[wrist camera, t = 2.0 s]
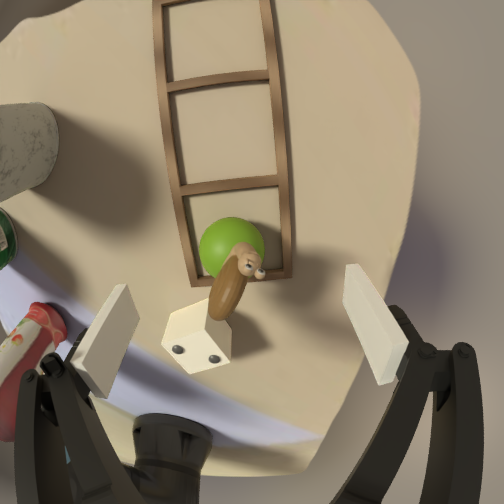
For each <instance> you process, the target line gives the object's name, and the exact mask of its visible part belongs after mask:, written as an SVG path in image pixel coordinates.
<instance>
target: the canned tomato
mask: <svg viewBox="0 0 504 504" xmlns="http://www.w3.org/2000/svg"><path fill="white" fill-rule="evenodd" d="M17 250H18V241H17V235H16V231H15V228H14V226H13V223H12V221H11V219H10V218H9V216H8V215H7V213H6V212H5V211H4V210H2V209H1V208H0V270H2V268H4V267H5V266H6V265H7V264H8V263H9V262H11V261H13V259H14V258H15V257H16V255H17Z"/></svg>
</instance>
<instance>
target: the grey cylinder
mask: <svg viewBox="0 0 504 504" xmlns="http://www.w3.org/2000/svg"><path fill="white" fill-rule="evenodd" d="M58 148H59V132H58V126H57V122H56V119H55V117H54V115H53V113H52V112H51V110H50V109H49V108H48V107H47V106H46V105H44V104H42V103H39V102H30V103H19V104H5V105H0V202H2V201H4V200H6V199H8V198H10V197H12V196H14V195H16V194H19V193H21V192H23V191H25V190H27V189H29V188H33V187H36V186H38V185H40V184H41V183H42V182H44V181H45V180H46V179H47V177H48V176H49V174H50V173H51V171H52V169H53V167H54V165H55V162H56V158H57V155H58Z"/></svg>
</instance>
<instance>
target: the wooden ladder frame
mask: <svg viewBox="0 0 504 504" xmlns="http://www.w3.org/2000/svg"><path fill="white" fill-rule="evenodd" d="M185 1H190V0H152V14H153V40H154V56H155V70H156V82H157V92H158V102H159V111H160V119H161V127H162V135H163V142H164V149H165V156H166V162H167V169H168V175H169V181H170V187H171V193H172V198H173V204H174V209H175V214H176V220H177V225H178V230H179V235H180V239H181V244H182V249H183V253H184V258H185V262H186V267H187V271H188V276H189V280H190V284H191V287H200V286H213V283H214V281H215V278H214V277H212V276H200V277H198V273H197V268H196V263H195V259H194V254H193V249H192V244H191V239H190V233H189V228H188V223H187V217H186V212H185V206H184V200H183V196H184V195H191V194H198V193H206V192H214V191H222V190H231V189H241V188H250V187H261V186H272V185H278V190H279V204H280V220H281V238H282V257H283V269H274V270H264V271H265V277H264V278H263V279H257V278H256V277H255V275H253V276H251V277H250V278H248V280H247V282H256V281H266V280H276V279H286V278H292V252H291V226H290V206H289V188H288V172H287V157H286V144H285V131H284V120H283V108H282V98H281V88H280V78H279V69H278V60H277V52H276V44H275V36H274V29H273V21H272V14H271V7H270V1H269V0H259V3H260V10H261V17H262V25H263V33H264V41H265V49H266V58H267V67H268V70H254V71H242V72H232V73H223V74H216V75H209V76H202V77H196V78H190V79H185V80H180V81H175V82H170V83H168V81H167V70H166V57H165V43H164V25H163V6H167V5H171V4H175V3H180V2H185ZM255 80H269V85H270V95H271V105H272V116H273V127H274V138H275V150H276V162H277V175H266V176H255V177H245V178H235V179H226V180H218V181H210V182H202V183H195V184H188V185H181V182H180V176H179V170H178V163H177V156H176V149H175V142H174V134H173V127H172V118H171V110H170V101H169V93H170V92H175V91H180V90H185V89H191V88H197V87H203V86H209V85H216V84H224V83H233V82H243V81H255Z"/></svg>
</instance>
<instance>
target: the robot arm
mask: <svg viewBox="0 0 504 504" xmlns="http://www.w3.org/2000/svg"><path fill="white" fill-rule="evenodd" d="M342 303H343V305H344V307H345V309H346V312H347V314H348V316H349V318H350V320H351V322H352V325H353V327H354V329H355V331H356V334H357V336H358V338H359V340H360V343H361V345H362V347H363V350H364V352H365V354H366V357H367V359H368V362H369V364H370V366H371V369H372V371H373V373H374V376H375V379H376V381H377V383H378V385H383V384H387V383H390V382H393V380H394V377H395V375H397V377H398V380H399V382H398V384H397V386H396V388H395V390H394V392H393V395H392V398H391V400H390V402H389V404H388V406H387V409H386V411H385V413H384V415H383V417H382V419H381V421H380V423H379V425H378V427H377V429H376V431H375V433H374V435H373V437H372V439H371V440H370V442H369V444H368V446H367V447H366V449H365V451H364V453H363V454H362V456H361V458H360V459H359V461H358V463H357V464H356V466H355V467H354V469H353V471H352V472H351V474H350V475H349V477H348V479H347V480H346V482H345V483H344V484H343V486H342V487H341V489H340V490H339V492H338V493H337V494H336V496H335V497H334V499H333V500H332V501H331V502H330V503H329V504H381V502H382V499H383V497H384V495H385V494H386V492H387V490H388V488H389V486H390V485H391V483H392V481H393V479H394V477H395V475H396V473H397V472H398V469H399V467H400V465H401V463H402V461H403V459H404V457H405V454H406V452H407V450H408V448H409V446H410V443H411V441H412V439H413V436H414V434H415V431H416V429H417V426H418V423H419V420H420V418H421V415H422V412H423V409H424V406H425V403H426V400H427V397H428V394H429V392H432V391H433V413H432V427H431V438H430V448H429V455H428V463H427V468H426V475H425V480H424V484H423V489H422V494H421V498H420V502H419V504H479V498H480V491H481V482H482V472H483V455H484V453H483V452H484V424H483V406H482V394H481V385H480V377H479V370H478V364H477V358H476V353H475V350H474V348H473V347H472V346H471V345H469V344H467V343H464V342H459V343H457V344H455V345H454V347H453V349H452V350H437V349H436V348H435V347H434V346H433V345H432V344H430V343H425V342H424V341H423V340H422V338H421V337H420V335H419V334H418V332H417V331H416V329H415V327H414V326H413V324H411V321H410V320H409V319H408V318H407V315H406V314H405V313H404V311H403V310H402V309H401V308H399V307H398V306H397V305H391V306H386V304H385V302H384V301H383V299H382V298H381V296H380V295H379V293H378V292H377V290H376V289H375V287H374V286H373V284H372V283H371V281H370V280H369V278H368V277H367V275H366V274H365V272H364V271H363V270H362V268H361V267H360V265H359V264H358V263H356V264H347V265H346V272H345V282H344V292H343V302H342ZM139 320H140V317H139V315H138V312H137V310H136V307H135V305H134V302H133V299H132V297H131V294H130V291H129V288H128V286H127V284H117V285H116V286H115V288H114V289H113V291H112V292H111V294H110V295H109V297H108V298H107V300H106V301H105V303H104V304H103V306H102V308H101V309H100V311H99V312H98V314H97V316H96V317H95V319H94V321H93V322H92V324H91V325H90V327H89V328H86V329H85V330H84V331H83V332H81V333H80V334H79V336H78V338H77V339H76V342H75V343H74V345H73V347H72V348H71V350H70V351H69V353H68V355H67V357H66V359H65V360H64V362H63V360H62V359H61V357H60V356H59V354H57V353H55V352H52V353H49V354H47V355H45V356H44V357H43V358H42V359H41V361H40V368H41V369H42V370H43V372H44V373H45V374H44V375H40V374H39V373H38V372H37V371H36V370H35V369H29V370H27V371H26V372H24V373H23V375H22V377H21V380H20V386H19V393H18V401H17V410H16V421H15V439H14V465H15V466H14V467H15V485H16V494H17V503H18V504H199V491H200V490H199V489H200V474H201V469H202V467H203V465H204V463H205V461H206V459H207V457H208V455H209V453H210V451H211V448H212V434H211V433H210V432H209V431H208V430H207V429H206V428H205V427H203V426H201V425H199V424H197V423H195V422H193V421H190V420H187V419H184V418H180V417H176V416H171V415H165V414H145V415H141V416H139V417H137V418H136V419H135V421H134V425H133V431H132V432H133V440H134V447H135V454H136V460H135V465H134V467H131V466H129V465H126V464H124V463H121V462H120V460H119V458H118V456H117V454H116V453H115V451H114V449H113V447H112V445H111V443H110V441H109V439H108V437H107V435H106V432H105V430H104V428H103V426H102V424H101V422H100V419H99V417H98V415H97V412H96V410H95V407H94V405H93V403H92V400H91V398H90V397H89V396H88V395H89V392H90V390H91V392H92V393H93V394H94V395H95V397H99V398H105V399H107V398H108V396H109V393H110V390H111V388H112V385H113V382H114V380H115V377H116V375H117V372H118V370H119V367H120V365H121V362H122V360H123V357H124V355H125V352H126V350H127V347H128V345H129V343H130V340H131V338H132V336H133V333H134V331H135V329H136V327H137V324H138V322H139Z"/></svg>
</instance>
